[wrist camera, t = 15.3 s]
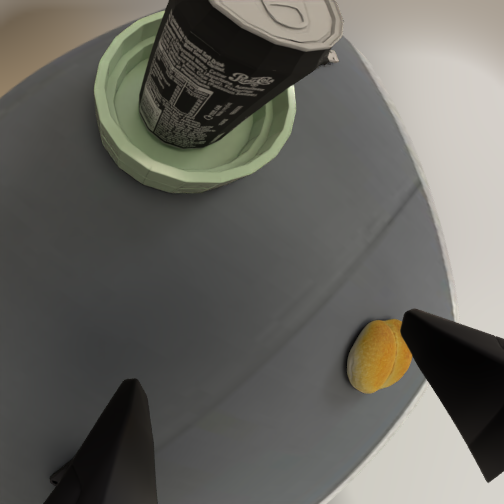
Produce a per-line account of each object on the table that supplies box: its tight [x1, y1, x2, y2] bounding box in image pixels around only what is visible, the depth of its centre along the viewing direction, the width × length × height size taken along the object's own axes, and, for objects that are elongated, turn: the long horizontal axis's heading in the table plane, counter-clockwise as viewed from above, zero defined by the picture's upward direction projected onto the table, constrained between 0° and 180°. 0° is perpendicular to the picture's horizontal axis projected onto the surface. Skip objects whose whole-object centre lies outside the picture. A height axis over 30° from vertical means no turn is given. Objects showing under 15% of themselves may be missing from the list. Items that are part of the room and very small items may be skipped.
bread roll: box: [347, 319, 412, 393], centre depth 26 cm, size 8×9×4 cm
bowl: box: [94, 11, 296, 193], centre depth 16 cm, size 12×12×4 cm
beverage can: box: [139, 0, 343, 150], centre depth 12 cm, size 7×7×12 cm
